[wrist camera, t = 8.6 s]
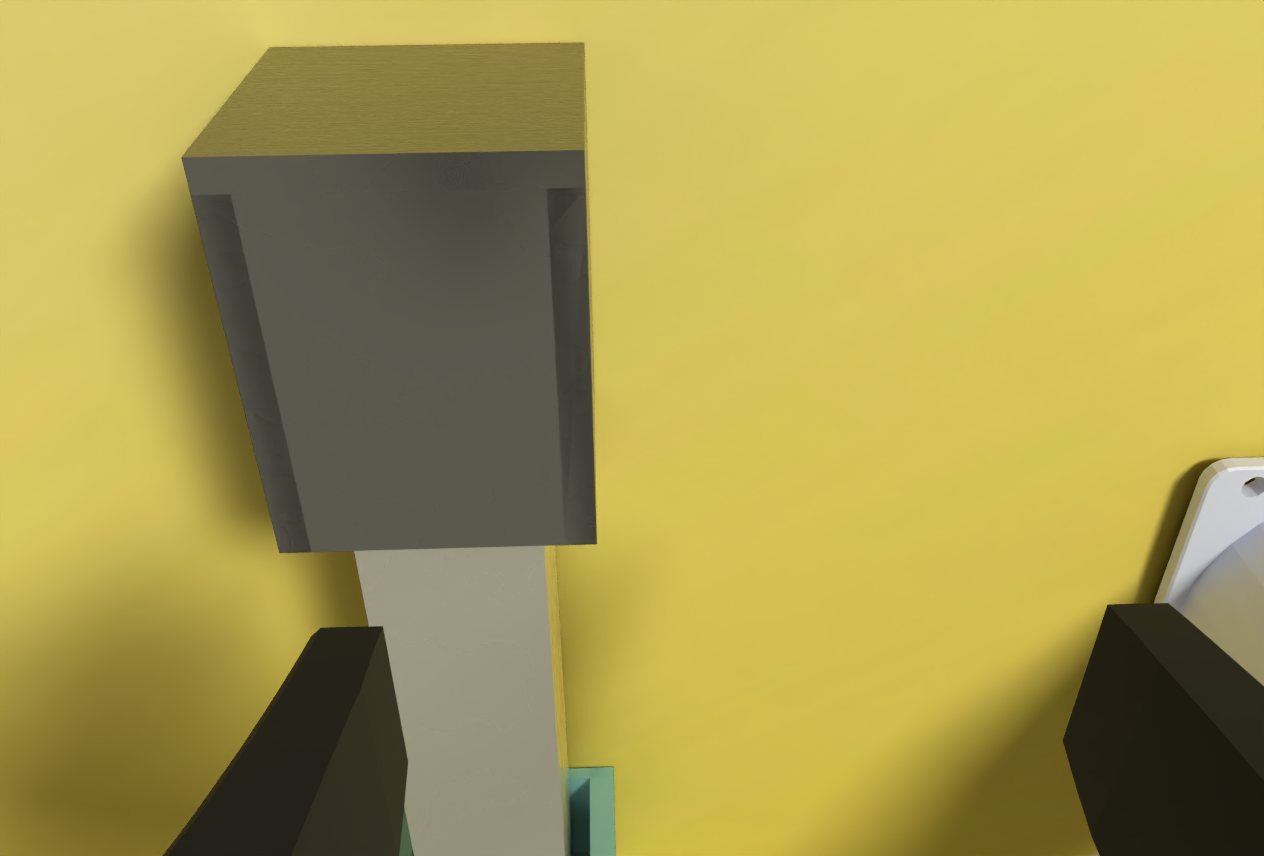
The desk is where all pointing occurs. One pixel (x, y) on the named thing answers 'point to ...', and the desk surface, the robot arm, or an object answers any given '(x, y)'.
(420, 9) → the desk surface
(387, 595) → the long grey plank
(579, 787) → the socket
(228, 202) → the sleeve
